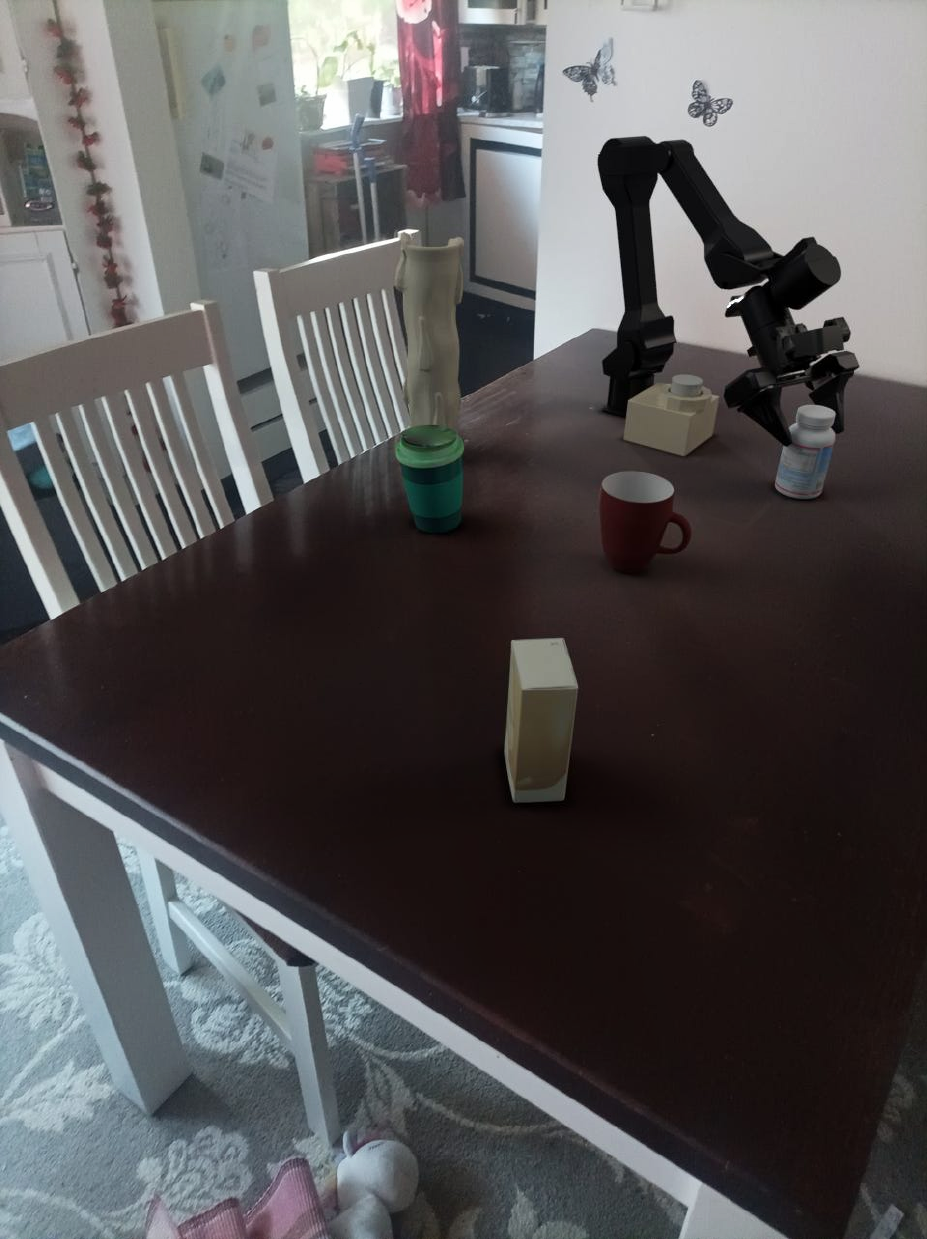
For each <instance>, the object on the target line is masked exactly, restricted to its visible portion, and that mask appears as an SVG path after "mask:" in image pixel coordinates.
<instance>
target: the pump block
mask: <svg viewBox="0 0 927 1239" xmlns="http://www.w3.org/2000/svg"><path fill="white" fill-rule="evenodd" d="M670 388H671V383H663V382H660V381H658V382H656V383H655V384H653V386H651V387H650V388H648V389H646V390H645V391H643V392H641V393H640V394H638V395H636V396H635V397H633V398H631V399H630V400H628V406H627V415H626V418H625V424H624V431H623V441H627V442H630V443H633V444H637V445H642V446H644V447H645V446H646V447H649V448H652V449H655V450H660V451H663V452H667V453H671V454H674V455H678V456H681V457H686V456H687V455H689V454H690V453H691V452H692V451H694V450H695V449H696V448H698V447H699V446H701V445H702V444H703V443H704V442H706V441H707V440H708V439H710V438H711V437H712V436H713V434H714V428H715V424H716V417H717V413H718V412H717V411H718V406H719V402H720V396H719V395H715V394H712V390H711V389H709V388H708V387H705V386H704V385H702V391H701V396H699V397H692V398H691V397H680V396H676V395H673V394H671V393H670Z"/></svg>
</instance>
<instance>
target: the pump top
mask: <svg viewBox="0 0 927 1239" xmlns="http://www.w3.org/2000/svg"><path fill="white" fill-rule="evenodd" d="M703 384H704V380H703V378H702V377H699V376H696V375H693V374H676V375H674V376H672V378H671V388H670V393H671V394H673V395H676V396H680V397H691V398H692V397H699V396H701V391H702V386H704V385H703Z"/></svg>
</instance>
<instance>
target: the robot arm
mask: <svg viewBox="0 0 927 1239" xmlns="http://www.w3.org/2000/svg"><path fill="white" fill-rule="evenodd" d="M596 160H597V162H596V163H597V164H596V165H597V170H598V175H599V179H600V184H601V188H602V191H603V193H604V195H605V196H606V197H607V199H608V201H609V202H610V204H611V205H612V206H613V208H614V214H615V223H616V232H617V244H618V253H619V254H618V255H619V263H620V276H621V284H622V294H623V307H624V311H623V312H624V313H623V315H622V318H621V320H620V323H619V325H618V328H617V331H616V348H614V349H613V350H612V351H611V352H610V353H609V354H608V355H607V356H606V357H604V358H603V359H602V360H601V366H602V373H603V375H604V376H607V377H608V378H609V383H608V393H607V403H606V405H605V406H603V407H601V412H603V413H606V414H610V415H614V416H618V417H621V418H625V419H626V415H627V406H628V400H630V399H631V398H633V397H635V396H636V395H638V394H640V393H641V392H643V391H645V390H646V389H648V388H650V387H651V386H653V385H655V384H654V383H655V376H656V375H655V374H659V373H662V372H663V370H664V368H665V367H666V364H667V362H669V360H670V358H671V357H672V356H673V355H674V351H675V344H677V343H678V342H677V338H676V335H675V319H674V316H673V315H671V314H670V315H666V314H665V313H664V311H663V310H662V309H661V307H660V306H659V301H658V299H659V298H658V290H657V278H656V275H657V274H656V266H655V253H654V242H653V240H654V239H653V232H652V230H653V229H652V216H651V206H650V202H651V199H652V197H653V193H654V191H655V188H656V186H657V183H658V178H659V176H660V177H661V178H662V180H663V182H664V183H665V184H666V186H667V188H668V189H669V191H670V192H671V194H672V195H673V197H674V199H675V200H676V202H677V203H678V205H679V206H680V208H681V209H682V211H683V213H684V214H685V216H686V217H687V219H688V220H689V222H690V223H691V225H692V227H693V228H694V230H695V231H696V233H697V234H698V236H699V238H700V240H701V242H702V244H703V261H704V263H705V265H706V267H707V270H708V272H709V274H710V276H711V279H712V282H713V283H714V284H715V285H716V286H717V288H719V289H721V290H728V291H731V290H736V289H741V288H746V287H750V286H752V287H750V288H749V289H748V290H747V291H745V292H744V293H743V294H739V295H732V296H730V299H729V303H728V305H727V307H726V308H725V312H724V317H725V318H726V319H727V318H728V319H729V318H734V317H735V318H736V317H740V318H741V321H742V323H743V326H744V328H745V331H746V333H747V336H748V338H749V341H750V343H751V346H750V347H749V348H748V349H746V353H747V356H748V358H752V357H753V358H754V357H756V358H757V361H758V363H759V366H760V367H755V368H749V369H746V370H745V371H744V372H742V373H740V375H738V376H737V377H736V378H735V379H733V380H732V381H730V382H729V383H728V384H726V385H725V387H724V392H723V399H724V401H725V404H726V406H727V409H728V410H731V409H734V408H736V411H737V413H738V414H739V413H742V414H743V415H745V416H747V417H748V418H750V419H751V420H752V421H754V423H756V424H758V426H760V427H761V428H763V429H764V430H765V431H766V432H767V433H768V434H769V435H771V436H772V437H773V438H774V439H775V440H776V441H778V442H779V443H780V444H781V445H782V446H785V447H788V446H790V445H791V444H792V443H793V442H792V437H791V433H790V430H789V427H790V426H789V424H788V421H787V419H786V416H785V413H784V410H783V407H782V404H781V398H782V392H783V388H787V387H791V386H797V385H802V384H804V386H805V387H806V388H808V390H810V391H811V392H809V393H808V394H807V395H808V397H809V399H810V400H811V401H812V403H813V405H819V406H824V407H827V408H830V409H832V410H833V411H834V412H835V414H836V415H835V419H834V423H833V425H832V426H831V427H830V428H831V429H832V430H833V431H834V433H835V435H840V434H841V433H844V431H845V407H844V406H845V405H844V403H845V402H844V400H845V399H844V398H845V397H844V396H845V388H846V386H847V384H848V382H849V380H850V379H851V378H853V377H854V375H855V371H856V370H857V369H859V368H860V363H859V361H858V358H857V356H856V353H855V352H852V351H849V350H845V343H848V342H849V340H850V339H851V334H852V332H851V330H850V326H849V323H848V322H847V321H846V319H845V317H844V316H839V317H834V318H830V319H825V321H824V322H823V326H822V327H818V328H813V329H810V330H808V327H807V325H806V324H804V323H803V322H801V323H796V322H795V321H794V318H793V315H792V313H791V311H790V310H793V311H801V310H803V309H804V308H805V307H807V306H808V305H809V304H811V303H812V302H813V301H815V300H816V299H818V298H819V297H820V296H821V295H823V294H824V293H826V292H827V291H828V290H830V289H831V288H832V287H834V286H835V285H836V284H838V283H839V282H840V280H841V278H842V268H841V265H840V262H839V260H838V257H837V256H836V255H835V256H834V255H833V253H832V252H830V250H828V249H827V247H825V246H824V245H822V244H819V243H818V242H817V240H816V237H815V236H808V237H803V238H801V239H800V240H799V241H798V242H797V243H796V244H795V245H794V246H793V247H792V249H790V250H789V251H788V252H786V253H785V255H783V254H781V253H778V252H776V251H774V250H773V248H772V246H771V244H769V242H768V241H767V240H766V239H765V238H764V237H763V236H762V235H761V234H760V233H759V232H758V231H757V230H756V229H755V228H753V227H752V226H750V225H748V224H746V223H745V222H743V221H741V220H740V219H739V218H738V217H737V216H736V215H735V214H734V213H733V211H732V210H731V208H730V207H729V205H728V204H727V202H726V201H725V199H724V197H723V196H722V194H721V193H720V191H719V190H718V188H717V186H716V185H715V184H714V182H713V181H712V179H711V177H710V176H709V174H708V173H707V171H706V170H705V168H704V167H703V165H702V164H701V161H699V159H698V157H697V156H696V154H695V149H694V146H693V144H692V143H691V142H689V141H687V140H686V139H673V140H663V141H660V142H658V143H656V141H653V140H652V138H650V137H649V136H647V135H639V136H624V137H611V138H609V139H608V140H606V141H605V142H604V143H603V145H602V147H601V149H600V151H599V152H598V154H597V159H596ZM765 280H767V281H766V282H765V283H763V282H764V281H765ZM762 283H763V284H762ZM760 284H762V285H760ZM834 351H836V352H834ZM829 352H833V353H829ZM825 354H827V355H825ZM822 355H825V356H824V357H822ZM812 363H814V364H812ZM811 364H812V365H811Z"/></svg>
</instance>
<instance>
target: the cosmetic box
mask: <svg viewBox="0 0 927 1239" xmlns="http://www.w3.org/2000/svg"><path fill="white" fill-rule="evenodd" d="M508 676H509V677H508V693H507V708H506V722H505V724H506V725H505V736H504V759H505V767H506V774H507V780H508V784H509V789H510V793H511V798H512V802H513V803H514V804H517V803H519V804H520V803H543V802H545V803H546V802H561V801H564V800H565V797H566V796H565V795H566V790H567V789H566V787H567V779H568V773H569V772H568V771H569V765H570V755H571V749H572V748H571V747H572V740H573V733H574V726H575V725H574V723H575V715H576V709H577V700H578V692H579V685H578V682H577V681H578V680H577V678H576V675H575V671H574V667H573V663H572V661H571V658H570V654H569V650H568V648H567V644H566V641H565V639H564V638H563V637H556V638H553V637H551V638H529V639H512V640H511V642H510V660H509V675H508Z"/></svg>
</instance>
